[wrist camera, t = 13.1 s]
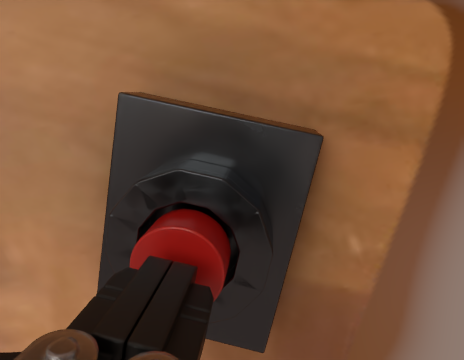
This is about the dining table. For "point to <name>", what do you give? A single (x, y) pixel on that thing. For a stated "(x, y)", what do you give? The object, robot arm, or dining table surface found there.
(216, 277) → the button
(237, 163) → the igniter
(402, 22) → the dining table surface
